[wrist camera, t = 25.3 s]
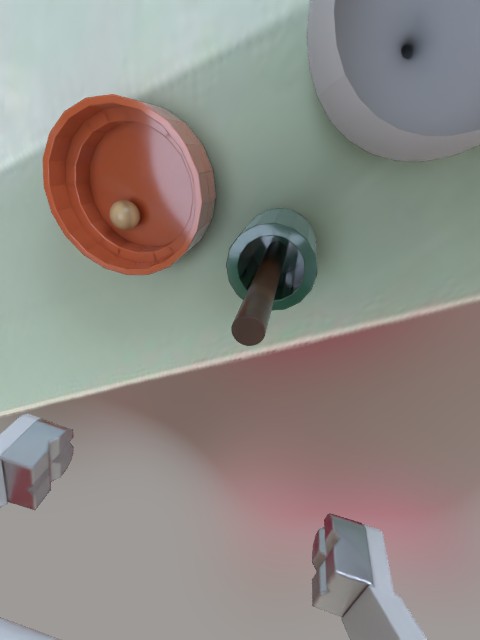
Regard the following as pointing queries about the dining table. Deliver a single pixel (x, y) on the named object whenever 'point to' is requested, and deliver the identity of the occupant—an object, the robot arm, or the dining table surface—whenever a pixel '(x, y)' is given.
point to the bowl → (128, 182)
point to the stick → (259, 297)
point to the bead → (124, 215)
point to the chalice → (399, 74)
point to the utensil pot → (297, 261)
